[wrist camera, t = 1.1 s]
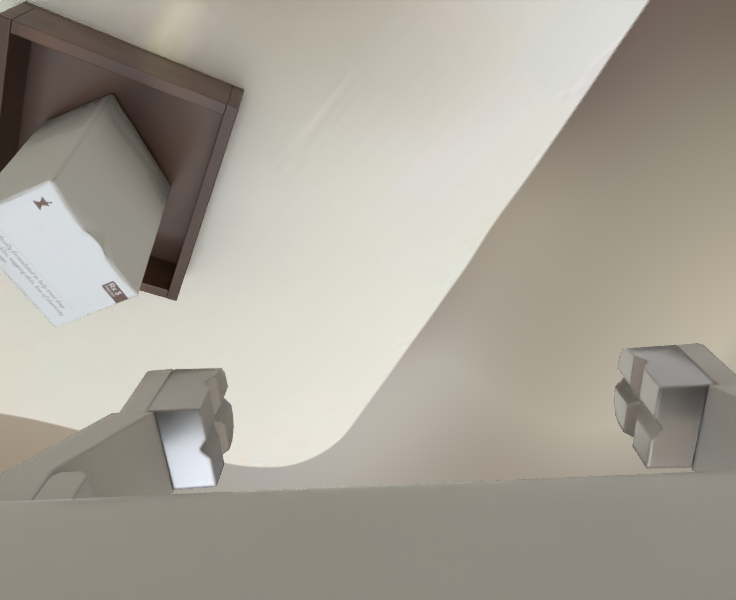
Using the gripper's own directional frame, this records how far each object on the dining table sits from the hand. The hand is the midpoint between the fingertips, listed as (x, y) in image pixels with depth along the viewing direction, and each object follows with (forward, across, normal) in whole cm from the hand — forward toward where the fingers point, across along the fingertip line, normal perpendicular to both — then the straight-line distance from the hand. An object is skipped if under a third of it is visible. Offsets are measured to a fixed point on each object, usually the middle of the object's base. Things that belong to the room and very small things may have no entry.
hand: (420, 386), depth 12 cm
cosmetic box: (+35, +20, +1) cm, 40 cm away
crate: (+35, +20, 0) cm, 40 cm away
